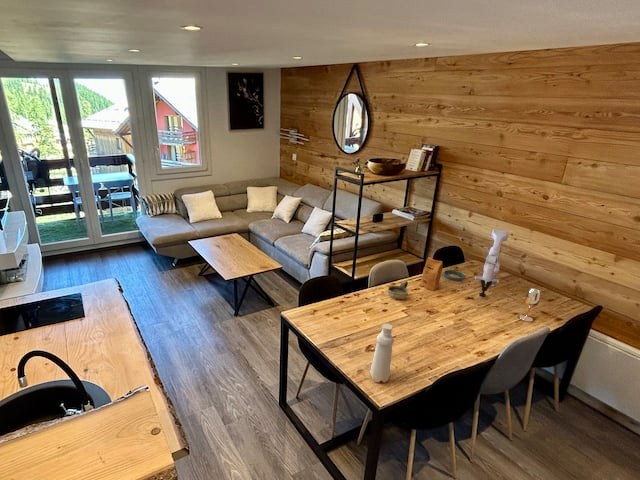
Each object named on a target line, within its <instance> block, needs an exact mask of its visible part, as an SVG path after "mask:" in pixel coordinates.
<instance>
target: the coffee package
mask: <svg viewBox="0 0 640 480" xmlns="http://www.w3.org/2000/svg"><path fill="white" fill-rule="evenodd" d="M443 263H444V262H443V261H442V260H437V259H433V258H432V257H430V256H428V257H427V259H426V262H425V266H424V267H423V271H422V274H421V278H420V287H423V288H425V289H427V290H430V291H435V290H437V289H439V286H440V282H441V281H440V280H441V277H442V273H443Z"/></svg>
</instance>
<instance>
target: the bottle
mask: <svg viewBox="0 0 640 480" xmlns="http://www.w3.org/2000/svg"><path fill="white" fill-rule="evenodd" d="M392 330H393V325H392V324H389V323H383V324H382V326H381V332H379V334H378V335H377V336H376V342H377V343H376V345H375V348H374V354H373V359H372V363H371V365H370V371H369V374H370V376H371V379H372V381H374V382H375V383H381V382H382V383H386V382H387V381H389V380H390V375H391V362H392V354H393V345H394V343H395V339H394V336H393V335H392Z"/></svg>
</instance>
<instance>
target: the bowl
mask: <svg viewBox="0 0 640 480" xmlns="http://www.w3.org/2000/svg"><path fill="white" fill-rule="evenodd" d="M408 285H409V283H408V280H402V281H401V283H400V284H399V285H390V286H388V287H387V294H388V295H389V296H390V297H391V298H394V299H397V300H403V299H406V298H407V297H408V295H409V289H408Z"/></svg>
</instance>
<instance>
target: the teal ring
mask: <svg viewBox="0 0 640 480" xmlns="http://www.w3.org/2000/svg"><path fill="white" fill-rule="evenodd" d="M448 274H450V275H448ZM451 275H455V276H457V277H454V276H451ZM443 278H445V279H446V280H449V281H451V282H463V281H464V279H465V274H463V273H462V272H461V271H458V270H455V269H446V270H444V271H443Z"/></svg>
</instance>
